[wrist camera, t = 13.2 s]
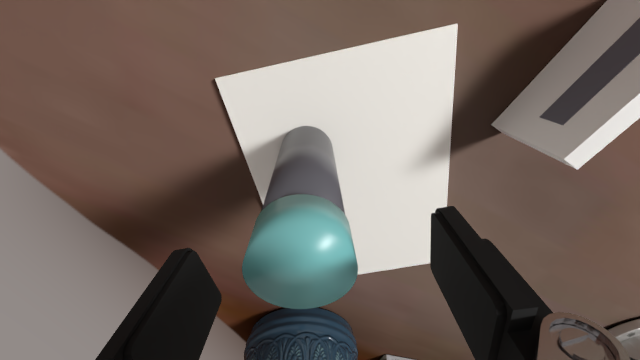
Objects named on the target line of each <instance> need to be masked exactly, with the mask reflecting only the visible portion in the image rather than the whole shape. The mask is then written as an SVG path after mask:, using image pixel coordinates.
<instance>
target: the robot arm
mask: <svg viewBox="0 0 640 360" xmlns="http://www.w3.org/2000/svg"><path fill="white" fill-rule="evenodd" d="M430 265H431V270H432V273H433V275H434V277H435V279H436V281H437V283H438V285H439V287H440V289H441V291H442V293H443V295H444V297H445V299H446V301H447V303H448V305H449V307H450V309H451V311H452V313H453V315H454V317H455V320H456V322H457V324H458V326H459V328H460V330H461V332H462V334H463V336H464V338H465V340H466V342H467V344H468V346H469V348H470V350H471V352H472V354H473V356H474V358H475V360H640V319H636V320H633V321H629V322H626V323H623V324H620V325H618V326H615V327H613V328H611V329H609V330H606V329H605V328H603V327H602V326H600V325H598V324H597V323H595V322H593V321H591V320H589V319H587V318H584V317H582V316H579V315H575V314H572V313H564V312H556V313H553V312H552V311H551V310H550V309H549V308H548V306H547V305H546V304H545V303H544V302H543V301H542V300H541V298H540V297H539V296H538V295H537V294H536V293H535V292H534V290H533V289H532V288H531V287H530V286H529V285H528V283H527V282H526V281H525V280H524V279H523V278H522V277H521V275H520V274H519V273H518V272H517V271H516V270H515V269H514V267H513V266H512V265H511V264H510V263H509V262H508V261H507V259H506V258H505V257H504V256H503V255H502V254H501V253H500V251H499V250H498V249H497V248H496V247H495V246H494V245H493V243H491V242H490V241H489V240H487V239H481V238H480V237H479V236H478V234H477V233H476V232H475V231H474V230H473V228H472V227H471V226H470V225H469V224H468V222H467V221H466V220H465V219H464V218H463V216H462V215H461V214H460V213H459V212H458V210H457V209H456V208H455V207H454V206H449V207H443V208H437V209H436V211H435V213H432V214H431V251H430ZM220 304H221V293H220V291H219V290H218V288H217V286H216V285H215V283H214V281H213V279H212V278H211V276H210V274H209V273H208V271H207V269H206V268H205V266H204V264H203V262H202V261H201V259H200V257H199V256H198V254H197V253H196V252H195V251H193V250H192V249H190V248H186V249H179V250H175V251H173V252H172V253H171V255H170V256H169V257H168V259H167V260H166V262H165V263H164V264H163V266H162V267H161V269H160V270H159V271H158V273H157V274H156V276H155V277H154V278H153V280H152V281H151V283H150V284H149V285H148V287H147V288H146V290H145V291H144V292H143V294H142V295H141V297H140V298H139V299H138V301H137V302H136V304H135V305H134V306H133V308H132V309H131V311H130V312H129V313H128V315H127V316H126V318H125V319H124V320H123V322H122V323H121V325H120V326H119V327H118V329H117V330H116V331H115V333H114V334H113V336H112V337H111V339H110V340H109V341H108V343H107V344H106V345H105V347H104V348H103V350H102V351H101V353H100V354H99V356H98V357H97V358H96V360H199V358H200V355H201V353H202V350H203V347H204V345H205V342H206V340H207V337H208V335H209V332H210V329H211V327H212V324H213V322H214V319H215V316H216V314H217V311H218V309H219V306H220Z"/></svg>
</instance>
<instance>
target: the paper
mask: <svg viewBox="0 0 640 360" xmlns="http://www.w3.org/2000/svg"><path fill="white" fill-rule="evenodd" d="M457 28H458V24H452V25H448V26H443V27H439V28H435V29H430V30H426V31H421V32H417V33H413V34H408V35H404V36H399V37H395V38H390V39H386V40H382V41H377V42H373V43H368V44H364V45H360V46H355V47H351V48H346V49H342V50H338V51H333V52H329V53H324V54H320V55H316V56H311V57H307V58H302V59H298V60H293V61H289V62H285V63H280V64H276V65H271V66H267V67H263V68H258V69H254V70H249V71H245V72H241V73H236V74H232V75H227V76H223V77H218V78H215V80H216V83H217V86H218V88H219V91H220V93H221V96H222V99H223V101H224V104H225V107H226V109H227V112H228V114H229V117H230V120H231V122H232V125H233V127H234V130H235V133H236V135H237V138H238V140H239V143H240V146H241V148H242V151H243V154H244V156H245V159H246V161H247V164H248V167H249V169H250V172H251V174H252V177H253V180H254V182H255V185H256V188H257V190H258V193H259V195H260V198H261V201H262V203H263V204H264V201H265V197H266V194H267V191H268V187H269V184H270V181H271V177H272V174H273V171H274V167H275V164H276V161H277V157H278V154H279V151H280V147H281V144H282V141H283V139H284V137H285V136H286V135H287V134H288V133H289V132H290V131H291V130H293V129H295V128H297V127H300V126H312V127H316V128H318V129H320V130H322V131H323V132H324V133H325V134H326V135H327V136H328V137H329V139H330V141H331V143H332V147H333V152H334V158H335V163H336V168H337V174H338V179H339V184H340V190H341V195H342V200H343V206H344V211H345V215H346V217H347V219H348V221H349V225H350V229H351V234H352V239H353V244H354V249H355V254H356V259H357V264H358V274H365V273H371V272H377V271H384V270H390V269H396V268H403V267H409V266H415V265H421V264H428V263H430V251H431V214H432V213H435V211H436V209H437V208H443V207H447V194H448V177H449V160H450V144H451V127H452V111H453V94H454V78H455V61H456V45H457ZM358 274H357V275H358Z"/></svg>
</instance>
